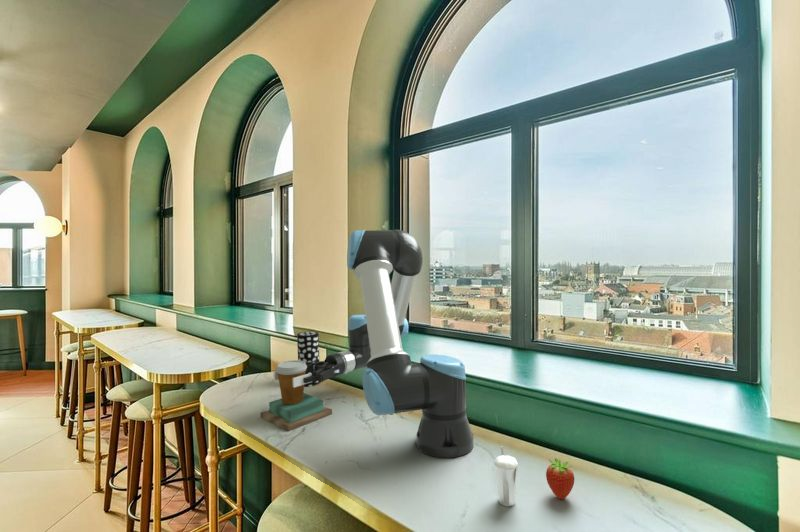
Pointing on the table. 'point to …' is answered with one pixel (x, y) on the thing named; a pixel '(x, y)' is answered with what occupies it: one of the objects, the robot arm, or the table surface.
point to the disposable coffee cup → (291, 381)
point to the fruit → (560, 479)
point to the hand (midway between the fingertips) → (283, 379)
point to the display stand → (296, 412)
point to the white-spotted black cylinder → (308, 349)
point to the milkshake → (506, 478)
